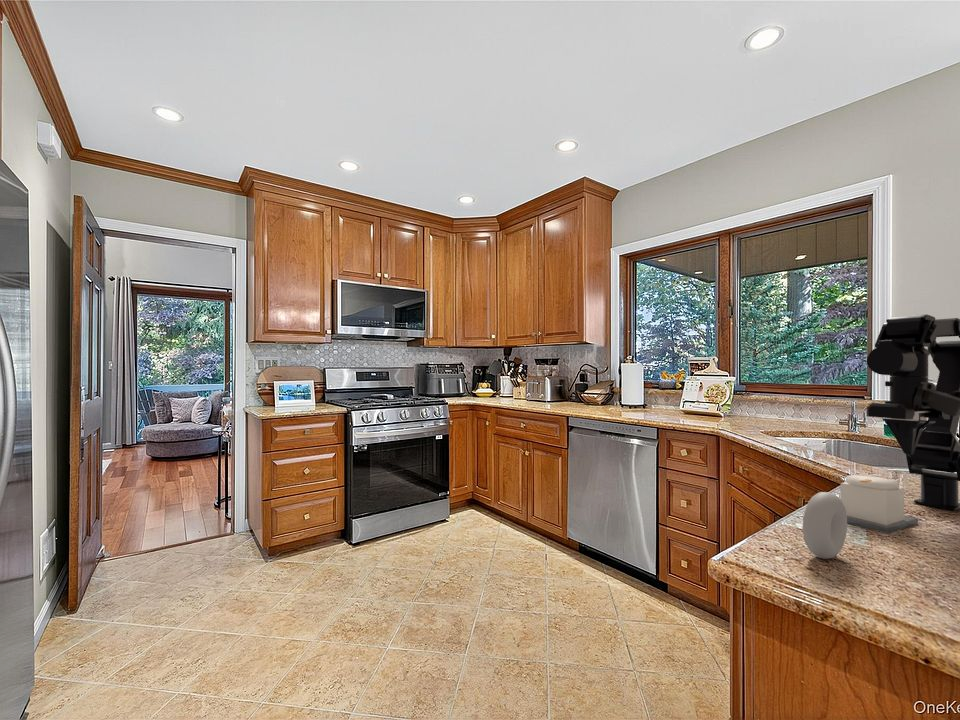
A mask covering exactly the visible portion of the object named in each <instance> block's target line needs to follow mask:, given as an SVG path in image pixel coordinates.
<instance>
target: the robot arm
mask: <svg viewBox="0 0 960 720" xmlns="http://www.w3.org/2000/svg"><path fill="white" fill-rule="evenodd" d="M945 337H946V338H947V337H958V338H959V339H960V318H959V317H953V318H939V319H938V318H936V317H935V316H933V315H930V314H915V315H903V316H901V315H900V316H890V317H887V319H886V320H885V323H883V324H882V326H881V329H880V331H879V333H878V336H877V339H876V341H875V343H874V349H872V350H871V351H870V352H869V354H868V356H867V358H866V364H867V367H868V369H870V371H872V372H873V373H875V374H878V375H882V376H889V381H888V380H885V381H884V387H889V400H885V401H884V403H883V402H872V403H870V404H869V405H867V406H866V417H869V418H872V417H873V418H881V420H882V421H883V422H884V423H885V424H886V425H887V427H888V428H889V430H890V432H891V433H892V435H893V436H894V438H895V440H896V442H897V443H898V445H899V447H900V448H901V450H902V452H903V454H905V457H906V463H907V468H908V473H909V474H912V475H918V476H919V475H920V498H918V499H917V498H916V499H913V503H914V504H919V505H924V506H928V507H929V506H930V507H934V508H940V509H944V510H949V511H957V510H960V502H959V501H960V500H959V482H960V442H959V441H958V439H957V431H958V427H959V423H960V340H948V341H947V340H946V341H945V340H944V341H939V342H937V338H945ZM929 356H930V357H931V359H932V363H933V364H934V365H935V367H936V369H938V376H937V381H936V384H934V382H929Z"/></svg>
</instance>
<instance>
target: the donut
mask: <svg viewBox="0 0 960 720" xmlns="http://www.w3.org/2000/svg"><path fill="white" fill-rule="evenodd" d="M802 520H803V521H802V536H803V539H804V543H805V545H806V547H807V550H808V551H809V552H810V553H812V554H813V555H814V556H815V557H817V558H819V559H824V560H827V559H833V558H835V557H837V555H838V554H840V552H841V550H842V549H843V547H844V544H845V541H846V538H847V537H846V536H847V531H848V523H847V514H846V509H845V507H844V504H843V502H842V501H841V498H840V497H839V496H837V495H836V494H834V493H832V492H828V491H820V492H817V493H816V494H814V495H813V496H812V497H810V499H809V501H808V503H807V504H806V507H805V510H804V514H803V519H802Z"/></svg>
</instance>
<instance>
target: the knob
mask: <svg viewBox="0 0 960 720" xmlns="http://www.w3.org/2000/svg"><path fill="white" fill-rule="evenodd" d="M840 500H841V501H842V502H843V504H844V507H845V509H846V514H847V516H850V517H855V518H859V519H863V520H867V521H871V522H875V523H879V524H883V525H889V524H892V523H895V522H899V521H902V520H904V515H905V487H903V486H900V483H899V482H897V481H896V480H892V479H889V478H884V477H877V476H869V475H859V474H858V475H846V476H845V482H840Z"/></svg>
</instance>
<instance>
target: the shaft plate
mask: <svg viewBox="0 0 960 720" xmlns="http://www.w3.org/2000/svg"><path fill="white" fill-rule="evenodd" d="M847 524H849V525H853V526H857V527H861V528H864V529H868V530H872V531H877V532H880V533H885V534H890V533H894V532H897V531H899V530H903V529H906V528H909V527H912V526H915V525H918V524H919V517H918V518H917V517H913V516H909V515H905V514H904V520H902V521H899V522H895V523H892V524H889V525H883V524H879V523H875V522H871V521H867V520H863V519H859V518H855V517H850V516H847Z"/></svg>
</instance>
